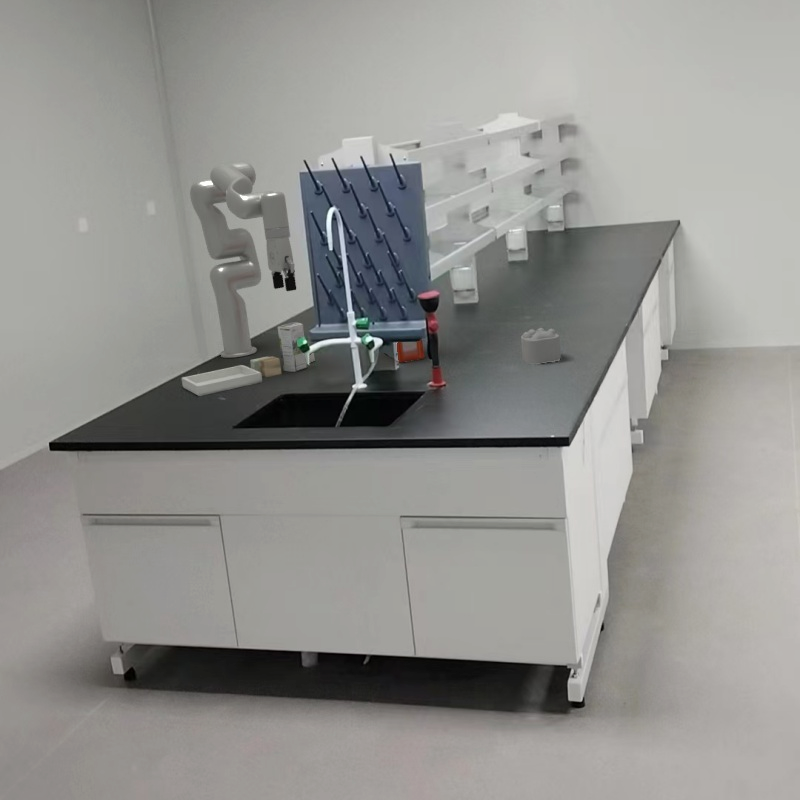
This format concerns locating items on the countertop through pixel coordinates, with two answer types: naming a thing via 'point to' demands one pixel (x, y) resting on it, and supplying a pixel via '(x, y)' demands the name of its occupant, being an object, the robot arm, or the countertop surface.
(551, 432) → the countertop surface
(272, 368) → the beech cube
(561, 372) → the countertop surface
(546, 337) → the lumpy-topped squat cylinder
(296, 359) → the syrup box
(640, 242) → the countertop surface
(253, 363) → the sage block
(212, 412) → the countertop surface
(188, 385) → the grey tray
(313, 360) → the pale grey block
